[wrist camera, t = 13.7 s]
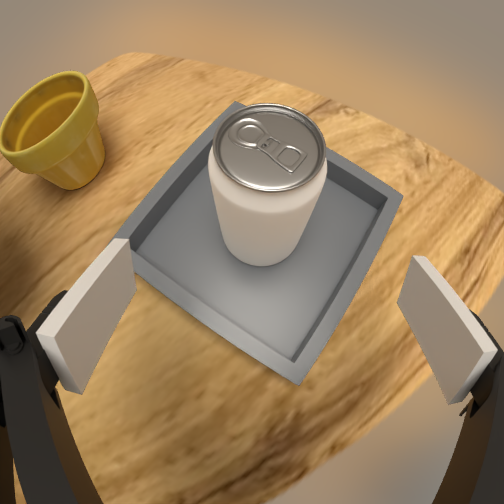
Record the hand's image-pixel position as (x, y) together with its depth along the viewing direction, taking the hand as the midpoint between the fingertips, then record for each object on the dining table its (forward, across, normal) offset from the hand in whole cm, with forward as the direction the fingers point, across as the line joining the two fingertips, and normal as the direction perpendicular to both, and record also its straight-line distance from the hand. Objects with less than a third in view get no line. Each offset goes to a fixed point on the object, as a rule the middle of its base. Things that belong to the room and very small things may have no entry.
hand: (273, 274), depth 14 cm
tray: (+13, 0, -4) cm, 13 cm away
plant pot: (+18, -20, +1) cm, 27 cm away
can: (+12, 0, -3) cm, 13 cm away
